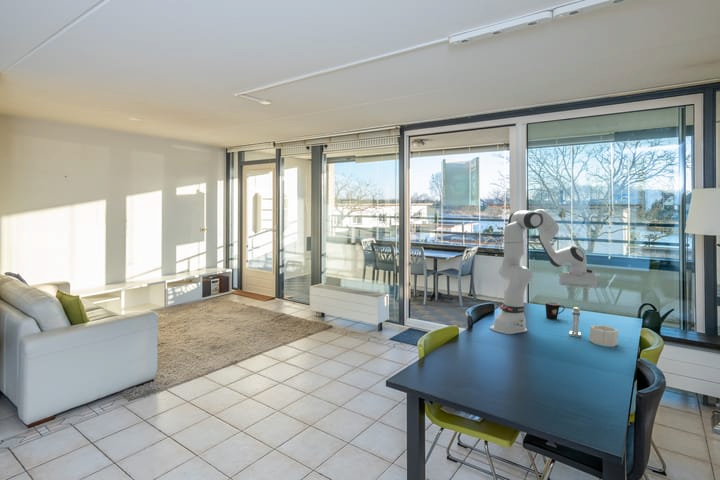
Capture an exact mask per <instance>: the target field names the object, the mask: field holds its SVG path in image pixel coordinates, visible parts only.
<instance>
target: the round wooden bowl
mask: <svg viewBox="0 0 720 480" xmlns="http://www.w3.org/2000/svg"><path fill="white" fill-rule="evenodd" d="M618 337H619V330H618V329H617V328H616V327H612V326H608V325H605V324H604V325H602V324H593V325H591V326H590V329H589V342H591V343H592V344H595V345H598V346H601V347H616V346H617V345H618V339H619V338H618Z"/></svg>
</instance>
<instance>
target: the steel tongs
mask: <svg viewBox="0 0 720 480" xmlns="http://www.w3.org/2000/svg"><path fill="white" fill-rule="evenodd" d="M572 308H573V310H572V313H571V314H572V325H571V326H572V328H571V330H569V333H568V334H569V335H568V336H569V337H572V338H573V337H575V338H581V332H580V331H579V327H580V326H579V324H580V316H581V311H580V310H581V308H580V307H578V306H577V307H575V306H573V307H572Z"/></svg>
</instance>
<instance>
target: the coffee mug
mask: <svg viewBox="0 0 720 480" xmlns="http://www.w3.org/2000/svg"><path fill="white" fill-rule="evenodd" d="M544 304H545V305H544V306H545V317H546V319H547V320H553V321H555V320H557V319H558V316H559V314H561V313H562V312H564V311H565V309H566V308H565V306H564V305H561V304H560V303H559V302H553V301H545V303H544ZM561 307H562V308H563V309H562V310H561V311H560V312H559V310H560V308H561Z"/></svg>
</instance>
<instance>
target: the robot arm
mask: <svg viewBox="0 0 720 480" xmlns="http://www.w3.org/2000/svg"><path fill="white" fill-rule="evenodd" d="M507 223H508V224H506V225H505V226H504V231H503V259H502V263H501V265H500V266H499V267H498V273H499V274H498V275H499V276H501V278H503V279H504V280H506V281H507V282H508V281H509V283H508V286H507V288H506V289H505V290H504V293H503V295H504V297H503V304H502V305H499V308H498V309H500V310H501V311H500V312H499V313H498V315H497V316H496V317H495V318H494V321H493V322H494V323H493V325H491V326H489V330H492V331H494V332H498V333H501V334H506V335H513V334H519V333H520V334H521V333H525V332H528V329H527V328H526V325H527V324H526V316H525V314H524V312H525V305H524V301H525V292H526V288H527V286H528V285H529V283H531V281H532V280H533V275H534V274H533V272H532V270H531V269H529V268H528V267H526V266H524V265H521V264H520V263H521V259H522V257H524V254H525V248H524V247H525V246H524V245H525V244H524V231H525V230H535V229H536V230H537V231H538V233H539V235H538V241H539V243H540V246H541V247H542V248H543V251H544V252H545V254H546V256H547V257H548V260H549V263H550V264H551V265H552V266H554V267H555V268H560V267H562V266H566V265H568V264H570V267H569V271H561V272H559V273H558V276H559V279H558V280H559V281H558V284H559V285H560V286H565V288H566V291H567V292H570V291H571V287H579V288H585V289H584V292H585V294H588V293H589V290H590V289H591V288H592V289H597V286H598V279H597V276H596V272H595V270H593V269H589V268H587V264H588V263H587V255H586V252H585V251H584V250H582V249H580V248H579V247H576V246H574V245H571V246H568V247H565V248H561V249H559V250H555V249H554V248H553V246H552V244H551V241H552V240H553V239H554V238H555V237H556V236H557V235H558V233H559V227H560V226H559V225H558V222H557V221H556V220H555V219H554V218H553V216H552V215H550V214H549V212H547V211H546V210H544V209H543V208H537V209H536V210H525V209H523V210H515V211H513V212H512V213H510V215H509V218H508V222H507Z"/></svg>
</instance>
